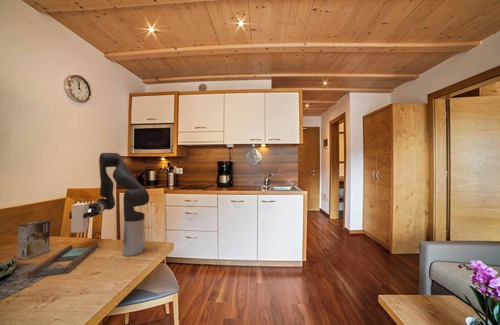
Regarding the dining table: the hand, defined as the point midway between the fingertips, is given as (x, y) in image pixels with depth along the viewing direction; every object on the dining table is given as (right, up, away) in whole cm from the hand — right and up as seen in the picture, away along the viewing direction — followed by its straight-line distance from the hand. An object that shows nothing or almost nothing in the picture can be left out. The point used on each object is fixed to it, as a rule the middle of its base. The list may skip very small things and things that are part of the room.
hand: (77, 216), depth 97 cm
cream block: (-1, -8, +2) cm, 8 cm away
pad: (-1, -19, +2) cm, 19 cm away
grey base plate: (+3, -19, -11) cm, 22 cm away
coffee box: (-21, -19, -1) cm, 28 cm away
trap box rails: (+2, -19, -6) cm, 20 cm away
